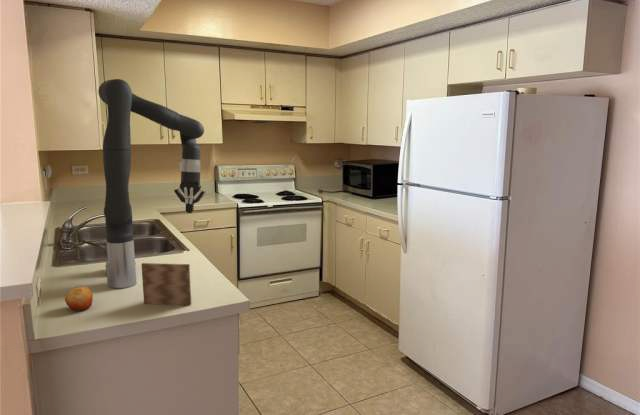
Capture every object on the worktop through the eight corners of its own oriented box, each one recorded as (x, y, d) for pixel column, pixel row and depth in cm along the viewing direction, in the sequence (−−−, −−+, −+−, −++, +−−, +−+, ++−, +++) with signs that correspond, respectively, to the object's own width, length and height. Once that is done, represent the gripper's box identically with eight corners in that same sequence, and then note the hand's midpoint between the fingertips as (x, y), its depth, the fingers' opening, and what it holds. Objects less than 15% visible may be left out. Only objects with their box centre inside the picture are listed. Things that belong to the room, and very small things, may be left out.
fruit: (100, 297, 153) (93, 282, 148) (92, 317, 147) (84, 302, 142) (76, 297, 153) (68, 282, 148) (67, 317, 147) (58, 302, 142)
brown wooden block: (144, 303, 152) (141, 264, 149) (151, 297, 158) (149, 258, 155) (190, 305, 151) (188, 265, 149) (196, 298, 157) (194, 259, 154)
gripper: (171, 169, 178) (170, 213, 180) (203, 171, 177) (202, 215, 179) (178, 169, 185) (177, 211, 187) (209, 171, 185) (208, 213, 187)
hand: (189, 213), depth 183 cm, fingers closed
